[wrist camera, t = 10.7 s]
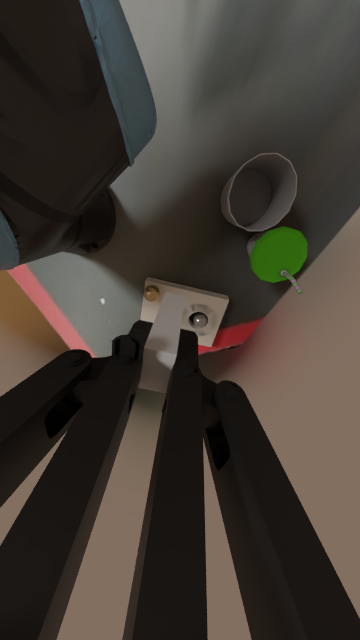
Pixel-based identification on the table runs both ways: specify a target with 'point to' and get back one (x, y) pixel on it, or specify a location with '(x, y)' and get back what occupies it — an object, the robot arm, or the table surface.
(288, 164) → the cup
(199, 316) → the steel ball
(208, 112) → the table surface
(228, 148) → the table surface
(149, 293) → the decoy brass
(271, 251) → the cup
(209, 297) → the plate
